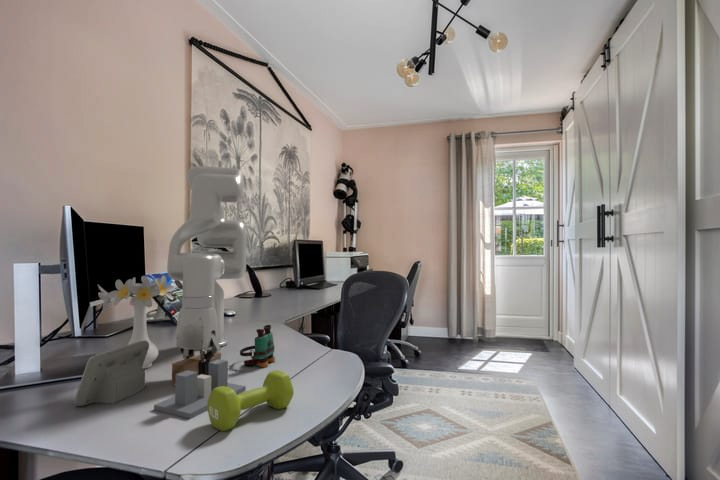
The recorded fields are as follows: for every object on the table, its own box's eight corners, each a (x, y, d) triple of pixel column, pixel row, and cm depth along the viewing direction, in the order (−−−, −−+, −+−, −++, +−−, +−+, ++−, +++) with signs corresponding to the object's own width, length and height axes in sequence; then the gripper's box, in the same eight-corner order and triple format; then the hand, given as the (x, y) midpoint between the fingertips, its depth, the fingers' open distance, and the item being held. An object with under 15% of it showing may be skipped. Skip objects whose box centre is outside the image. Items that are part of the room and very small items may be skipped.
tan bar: (171, 384, 92) (172, 363, 92) (209, 369, 103) (209, 351, 103) (183, 386, 91) (184, 365, 91) (220, 371, 102) (220, 352, 102)
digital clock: (134, 380, 95) (135, 337, 95) (161, 386, 91) (162, 341, 91) (62, 405, 80) (64, 354, 80) (91, 413, 76) (92, 359, 76)
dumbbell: (223, 438, 67) (224, 397, 67) (202, 424, 72) (202, 385, 72) (297, 409, 79) (297, 374, 79) (274, 398, 84) (274, 366, 84)
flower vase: (93, 368, 104) (95, 276, 104) (167, 356, 115) (169, 273, 116) (98, 381, 94) (100, 279, 94) (179, 367, 105) (180, 276, 106)
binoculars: (247, 325, 115) (278, 323, 113) (249, 360, 115) (280, 359, 113) (231, 331, 106) (264, 329, 104) (234, 369, 106) (267, 368, 104)
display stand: (153, 409, 78) (154, 375, 78) (212, 384, 92) (212, 355, 93) (190, 418, 74) (191, 382, 74) (245, 390, 89) (246, 360, 89)
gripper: (162, 302, 97) (160, 374, 97) (212, 307, 91) (211, 384, 90) (186, 299, 104) (184, 366, 104) (234, 303, 98) (233, 375, 97)
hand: (197, 374), depth 97 cm, fingers closed on tan bar, 4 cm apart
